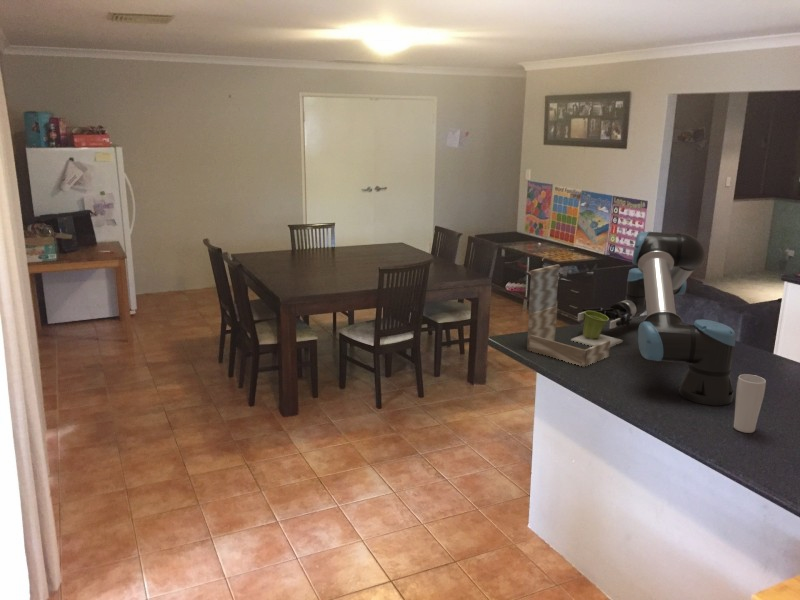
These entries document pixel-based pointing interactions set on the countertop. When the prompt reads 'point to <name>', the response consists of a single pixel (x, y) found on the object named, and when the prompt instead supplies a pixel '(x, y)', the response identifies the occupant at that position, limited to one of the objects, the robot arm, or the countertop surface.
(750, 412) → the drinking glass
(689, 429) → the countertop surface
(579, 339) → the stone pad
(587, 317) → the plant pot
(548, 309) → the zigzag patterned stand
